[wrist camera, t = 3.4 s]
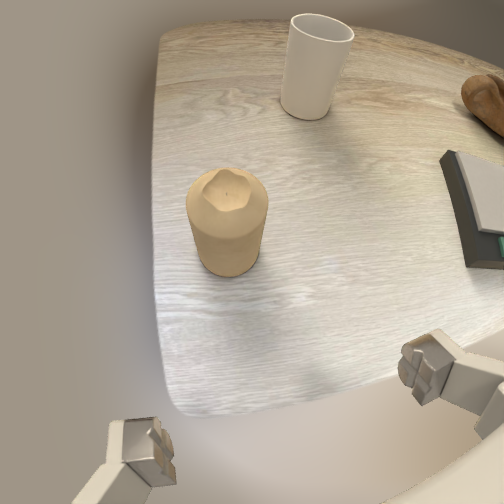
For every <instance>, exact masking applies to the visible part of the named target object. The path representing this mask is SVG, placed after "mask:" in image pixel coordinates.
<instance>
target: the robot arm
mask: <svg viewBox="0 0 504 504" xmlns="http://www.w3.org/2000/svg"><path fill="white" fill-rule="evenodd" d="M401 353H402V355H403V357H402V358H401V359H400V361H399V363H398V373H399V377H400V379H401V381H402V382H403V383H404V385H405V386H408V387H411V388H412V395H413V396H414V397H415V399H416V400H417V401H418V403H419V404H420V405H421V406H423V405H425V404H427V403H429V402H431V401H432V400H434V399H436V398H438V397H440V398H442V399H444V400H446V401H448V402H450V403H452V404H455V405H457V406H459V407H461V408H464V409H466V410H468V411H470V412H473V413H475V414H477V415H479V416H480V418H479V419H478V421H477V422H476V424H475V426H474V429H475V431H476V432H477V433H478V435H479V436H480V437H481V438H482V441H481V442H479V443H478V444H477V445H476V446H474V447H473V448H472V449H470V450H469V451H468V452H466V453H465V454H463V455H462V456H461V457H459V458H458V459H456V460H455V461H453V462H452V463H451V464H449V465H448V466H446V467H445V468H443V469H441V470H440V471H438V472H437V473H435V474H434V475H432V476H430V477H429V478H427V479H425V480H424V481H422V482H420V483H419V484H417V485H415V486H413V487H411V488H410V489H408V490H406V491H404V492H403V493H401V494H399V495H397V496H395V497H393V498H391V499H389V500H387V501H385V502H383V503H380V504H504V361H500V360H497V359H492V358H489V357H486V356H482V355H478V354H475V353H471V352H469V353H466V352H465V351H464V350H463V349H462V348H460V347H459V346H458V345H457V344H456V343H455V342H454V341H453V340H452V339H451V338H450V337H449V336H448V335H447V334H445V333H444V332H443V331H442V330H441V329H435V330H433V331H431V332H429V333H427V334H424V335H422V336H420V337H418V338H416V339H414V340H412V341H410V342H408V343H406V344H404V345H403V347H402V350H401ZM173 456H174V452H173V446H172V442H171V439H170V436H169V434H168V433H167V431H166V430H165V429H162V428H161V422H160V420H159V419H158V417H149V418H139V419H128V420H118V421H111V423H110V425H109V430H108V440H107V452H106V464H101V465H100V467H99V468H98V469H97V471H96V472H95V473H94V475H93V476H92V477H91V478H90V480H89V481H88V482H87V484H86V485H85V486H84V487H83V489H82V490H81V491H80V493H79V494H78V495H77V496H76V498H75V499H74V500H73V502H72V503H71V504H144V503H145V502H146V500H147V498H148V495H149V494H150V492H151V490H152V488H151V487H160V486H168V485H176V475H175V474H176V473H175V467H174V466H173V464H172V463H171V462H170V461H171V459H172V458H173Z"/></svg>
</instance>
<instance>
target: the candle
mask: <svg viewBox="0 0 504 504" xmlns="http://www.w3.org/2000/svg"><path fill="white" fill-rule="evenodd" d="M186 210H187V214H188V218H189V222H190V225H191V229H192V233H193V236H194V240H195V243H196V247H197V251H198V254H199V257H200V259H201V261H202V263H203V264H204V266H205V267H206V268H207V269H208V270H209V271H211V272H212V273H214V274H216V275H219V276H223V277H233V276H238V275H241V274H243V273H244V272H246V271H247V270H249V269H250V268H251V267H252V266H253V264H254V263H255V261H256V259H257V257H258V253H259V249H260V244H261V239H262V234H263V230H264V225H265V220H266V215H267V210H268V196H267V192H266V190H265V188H264V186H263V184H262V183H261V182H260V181H259V180H258V179H257V178H256V177H255V176H253V175H252V174H250V173H248V172H246V171H244V170H241V169H236V168H219V169H215V170H212V171H209V172H207V173H205V174H203V175H202V176H200V177H199V178H198V179H197V180H196V181H195V182H194V183H193V184H192V186H191V187H190V189H189V191H188V194H187V198H186Z"/></svg>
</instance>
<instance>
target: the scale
mask: <svg viewBox="0 0 504 504" xmlns="http://www.w3.org/2000/svg"><path fill="white" fill-rule="evenodd" d="M439 161H440V164H441V167H442V170H443V173H444V176H445V180H446V183H447V186H448V190H449V193H450V197H451V200H452V204H453V208H454V212H455V216H456V220H457V224H458V229H459V233H460V238H461V243H462V248H463V253H464V258H465V264H466V267H473V268H492V269H504V166H503V165H500V164H497V163H494V162H491V161H489V160H486V159H483V158H480V157H477V156H473V155H470V154H467V153H464V152H461V151H457V152H454V151H451V150H447V152H446V153H445V154H444V155H443V157H442V158H441V159H440V160H439Z"/></svg>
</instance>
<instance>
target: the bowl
mask: <svg viewBox="0 0 504 504" xmlns="http://www.w3.org/2000/svg"><path fill="white" fill-rule="evenodd" d="M461 95H462V99H463V102H464V104H465V106H466V107H467V108H468V109H469V111H470V112H472V113H473V114H474V115H475V116H477V117H478V118H479V119H480V120H482V121H483V122H484V123H485V124H486V125H487V126H489V127H490V128H491V129H492V130H493V131H495V132H496V133H498V134H499V135H500V136H502V137H504V81H503V80H502V79H500V78H499V77H497V76H493V75H491V74H488V75H486V76H483V75H475V76H472V77H470V78H468V79H467V80H466V81H465V83H464V84H463V86H462V90H461Z"/></svg>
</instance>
